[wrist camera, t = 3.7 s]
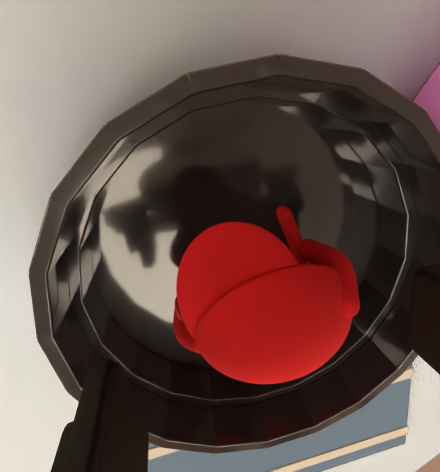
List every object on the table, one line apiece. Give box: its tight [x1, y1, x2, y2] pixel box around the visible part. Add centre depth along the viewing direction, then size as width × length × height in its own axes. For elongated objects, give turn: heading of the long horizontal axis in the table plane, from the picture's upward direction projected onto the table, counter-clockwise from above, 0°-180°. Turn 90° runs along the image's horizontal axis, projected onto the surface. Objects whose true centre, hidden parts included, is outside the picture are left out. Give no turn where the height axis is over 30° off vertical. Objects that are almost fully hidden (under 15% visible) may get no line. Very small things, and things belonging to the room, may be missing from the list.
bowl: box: [29, 54, 440, 454], centre depth 12 cm, size 15×15×4 cm
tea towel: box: [148, 364, 414, 472], centre depth 19 cm, size 20×9×1 cm, turn 101°
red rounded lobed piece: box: [173, 206, 360, 384], centre depth 11 cm, size 8×6×6 cm
